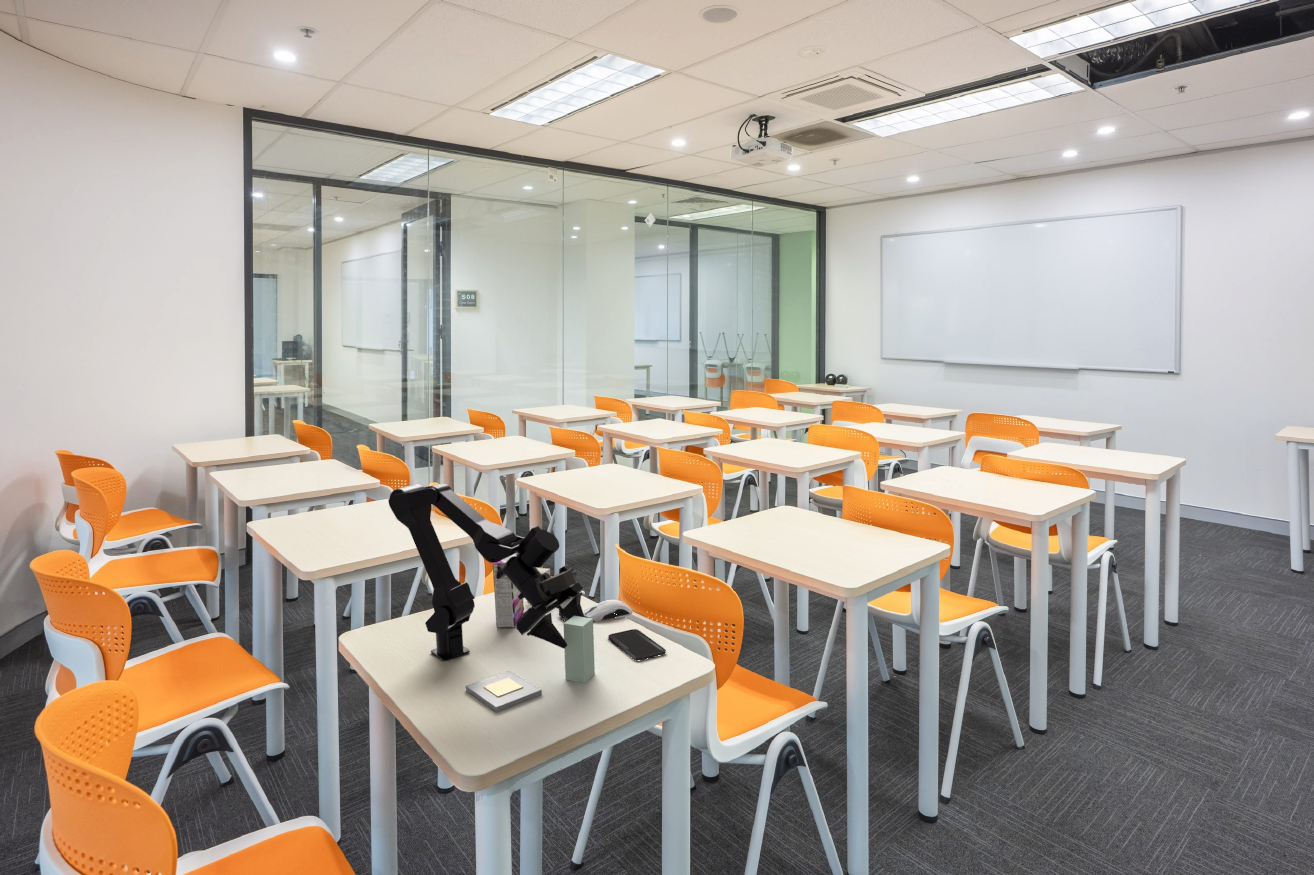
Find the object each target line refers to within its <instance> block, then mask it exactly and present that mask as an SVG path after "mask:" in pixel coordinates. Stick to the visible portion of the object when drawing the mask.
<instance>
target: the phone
mask: <svg viewBox="0 0 1314 875" xmlns="http://www.w3.org/2000/svg"><path fill="white" fill-rule="evenodd" d="M607 638H608V640H609V641H610V643H612V644H613V645H615V646H616V647H617V648H618V647H619V648H620V649H619V648H618V649H619V650H621V652H623V651H624V652H625V653H624V652H623V653H624V654H626V655H627V654H628V655H629V656H630V657H629V656H628V655H627V656H628V657H629V658H631V657H632V658H631V659H632V660H633V659H634V660H633V661H635V660H643V661H645V660H644V659H647V658H651V657H654V656H658V655H662V656H664V655H663V654H665V653H667V650H666V648H664V647H663V646H661V645H660V644H659V643H657V642H656V641H655V640H653V639H652V638H650V637H649V636H647V635H646V634H645V633H644V632H642V631H641V630H639V629H638V628H637V629H636V628H633V629H632V628H631V629H628V630H623V631H619V632H615V633H610V634H608V637H607ZM665 655H666V654H665ZM647 660H648V659H647Z"/></svg>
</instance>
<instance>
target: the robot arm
mask: <svg viewBox="0 0 1314 875" xmlns="http://www.w3.org/2000/svg"><path fill="white" fill-rule="evenodd" d="M388 506H389V508H390V509H391V511H392V513H393V515H394V516H395V519H396V520H397V521H398V522H400V523H401V524H402V525H404V526H405V527H406V528H407V529H408V531H409V533H410V535H411V537H412V540H413V543H414V545H415V548H416V550H417V551H418V555H419V556H420V559H421V562H422V565H423V566H424V568H425V571H426V574H427V577H428V578H429V581H430V583H431V586H432V588H433V589H432V590H433V591H432V600H431V601H432V602H431V604H432V607H433V608H432V609H433V613H432V614H431V616H430V617H428V619H427V620H426V622H425V626H426V630H427V632H428V633H432V634H433V633H434V634H435V642H436V648H433V649H431V650H430V653H431V654H432V653H433V655H434V656H435V657H437V658H438V659H440V660H441V661H448V660H451V659H453V658H457V657H460V656H463V655H466V654H469V653H470V649H469V648H467V647H466V646H464V640H463V635H464V634H463V624H465V623H467V622H469V621H470V618H471V615H472V614H473V612H474V609H475V607H476V606H475V601H474V599H476V597H475V596H474V594H473V593H472V591H471V588H470V584H469V583H468V582H463V583H461V582H460V581H459V580H458V579H456V578H455V575H454V573H453V571H452V568H451V566H450V563H449V561H448V559H447V556H446V554H445V551H444V549H443V547H442V545H441V542H440V540H439V537H438V535H437V532H436V530H435V528H434V525H433V523H432V521H431V517H432V516H431V515H432V508H433V506H434V507H435V508H437V509H438V510H439V511H440V512H441V513H442V514H443V515H445V517H447V518H448V520H450V521H452V522H453V523H454V524H455V525H456V526H458V528H460V530H462V531H463V532H464V533H465V534H467V535H468V536H469V537H470V538H471V540H472V541H473V545H474V547H475V549H476V551H477V552H478V553H479V554H480V556H481V557H483V560H485V561H486V562H488V563H491V564H493V563H496V562H499V561H501V560H503V559H505V558H507V557H509V556H511V555H513V554H515V553H517V552H518V553H519V554H518V555H517V556H513V557H511V558H510V559H509V560H508V561H507V562H506V563H505V564H504V563H503V564H501V565H499V566H497V576H496V578H497V579H500V578H502V577H504V576H507V577H508V579H509V580H510V581H511V582H512V583H513V585H514V586H515V587H516V588H517V589H518V591H519V592H520V594H519V595H518V597H519V599H520V600H522V599H523V600H524V599H525V600H526V602H528V603H529V605H530V607H529V608H528V609H527V610H526V611H524V612H523V614H522V615H521V617H520V618H519V619H518V620H517V621H516V627H515V629H516V630H517V631H518V633H520V635H521V636H523V635H525V634H526V635H527V636H528V637H529V636H532V637H534V638H537V639H540V640H543V641H545V642H548V643H550V644H552V645H555V646H556V647H559V648H561V649H564V648H565V647H566V646H567V643H566V642H565V640H564V636H562V634H561V633H560V632H559V630H558V629H557V628H556V626H555V625H554V623H553V620H552V619H553V617H552V611H553V610H555V609H558V610H559V609H563V610H562V611H561V612H560V613H561V614H562V615H564V616H565V617H566V618H568V619H570V618H572V617H573V616H579V617H586V616H585V614H584V610H583V608H582V605H581V600H582V599H581V598H582V597H583V592H582V591H583V590H584V587H583V586H582V585H581V584H580V583H579V582H578V581H576V577H577V574H578V573H577V571H576V570H575V569H574V568H573V567H572V566H571V565H570V564H566V565H563V566H562V567H559V569H558V573H556V574H555V575H553V576H551V574H550V575H549V574H548V573H544V574H541V573H540V572H539V571H538V569H537V568H543V566H544V565H545V564H546V563H547V562H548V561H549V560H550V559H551V558H552V556H553V555H554V554H556V552H557V551H558V550H559V548H560V543H559V540H558V538H557V537H556V536H555V535H554V534H553V533H551V532H549V531H548V530H546V529H542V528H541V527H540V526H539V525H537V526H534V527H532V528H531V529H530V530H529V531H528V533H527V534H526V536H520V535H517V534H516V533H514V532H513V531H512V530H510V529H508V528H507V527H505V526H503V525H501V524H498V523H494V522H493V521H489V520H488V519H487V518H485V517H484V516H483V515H482V514H480V512H478V511H477V510H475V509H474V508H473V507H472V506H471V505H470V504H469V503H467V502H466V501H465V500H464V499H462V498H461V497H460V496H459V495H458V494H457V493H456V492H454V491H453V489H452V487H451V486H450V485H449V484H447V483H439V484H436V485H435V484H434V485H430V486H429V485H428V486H424V485H421V484H417V483H415V484H410V485H407V486H402V487H399V488H396V489H394V490H393V491H391V493H390V494H389V498H388Z"/></svg>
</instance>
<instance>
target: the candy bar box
mask: <svg viewBox="0 0 1314 875" xmlns="http://www.w3.org/2000/svg"><path fill="white" fill-rule="evenodd" d="M518 554H519V553H518V552H517V553H515V554H513V555H511V556H509V557H507V558H505V559H503V560H501V561H499V562H496V563H492V575H493V576H492V578H493V590H494V591H493V593H494V603H495V604H494V606H495V608H494V609H495V622H496V625H495V626H496V629H497V628H499V629H507V628H508V629H509V628H514V629H515V628H516V621H517V620H518V619H519V618H520V617H521V616H522V615H523V614H524V613H525V608H524V598H523V599H522V600H520V599H519V597H518V595H519V594H520V592H519V591H518V589H517V588H516V587H515V586H514V585H513V583H512V582H511V581H510V580H509V579H508V577H507V576H504V577H502V578H500V579H497V578H496V576H497V566H499V565H501V564H503V563H504V564H505V563H506V562H507V561H508V560H509V559H510V558H511V557H513V556H517V555H518Z"/></svg>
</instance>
